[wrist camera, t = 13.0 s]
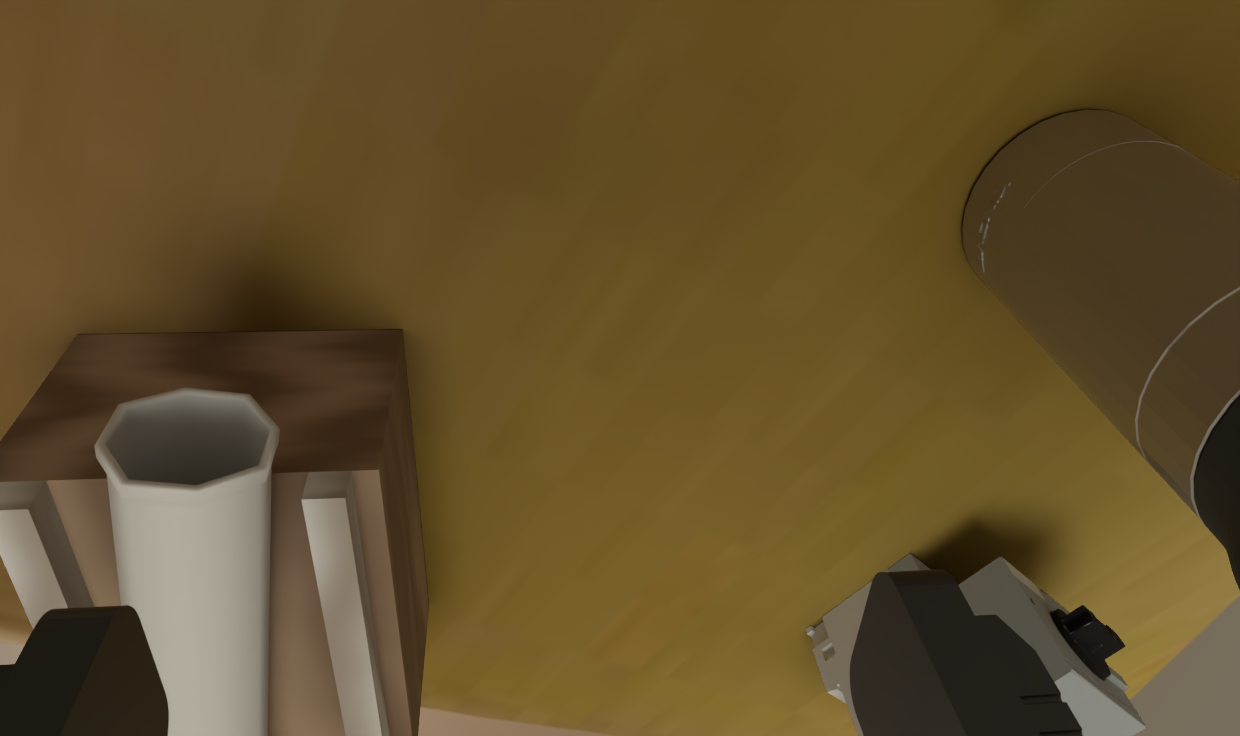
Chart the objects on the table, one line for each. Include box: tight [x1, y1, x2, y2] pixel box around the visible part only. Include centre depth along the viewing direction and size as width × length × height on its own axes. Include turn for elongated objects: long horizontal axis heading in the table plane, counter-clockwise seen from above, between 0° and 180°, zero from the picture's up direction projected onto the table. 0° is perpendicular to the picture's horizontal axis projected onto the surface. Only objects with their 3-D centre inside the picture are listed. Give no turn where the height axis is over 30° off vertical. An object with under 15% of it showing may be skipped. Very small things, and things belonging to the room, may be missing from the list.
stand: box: [0, 330, 429, 736], centre depth 42 cm, size 14×18×12 cm
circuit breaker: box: [805, 554, 1146, 736], centre depth 50 cm, size 8×14×15 cm, turn 137°
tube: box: [94, 387, 280, 736], centre depth 36 cm, size 5×5×25 cm
